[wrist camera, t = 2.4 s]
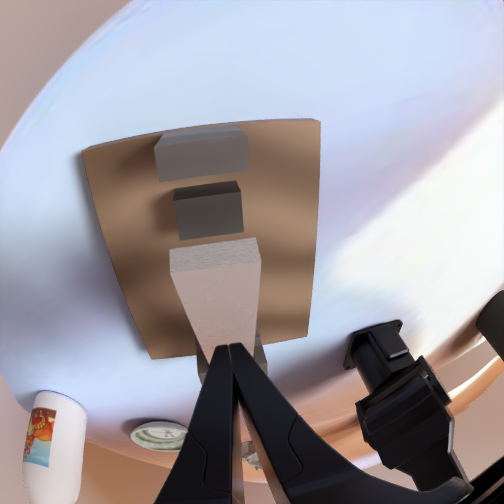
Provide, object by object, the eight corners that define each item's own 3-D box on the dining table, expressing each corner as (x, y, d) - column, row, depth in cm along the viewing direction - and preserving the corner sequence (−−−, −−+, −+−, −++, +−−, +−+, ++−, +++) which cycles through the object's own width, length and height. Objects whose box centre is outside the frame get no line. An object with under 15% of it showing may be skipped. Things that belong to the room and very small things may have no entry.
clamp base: (302, 324, 27) (321, 370, 22) (152, 347, 25) (149, 397, 20) (311, 118, 17) (353, 132, 12) (90, 146, 15) (53, 171, 11)
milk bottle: (81, 395, 28) (70, 546, 11) (92, 422, 32) (89, 547, 15) (29, 383, 26) (5, 522, 9) (45, 411, 29) (32, 531, 13)
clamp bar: (249, 357, 23) (252, 373, 22) (212, 363, 23) (215, 379, 22) (254, 233, 10) (262, 265, 10) (169, 244, 10) (170, 278, 9)
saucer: (119, 413, 31) (118, 429, 29) (188, 409, 32) (190, 425, 30) (145, 440, 36) (145, 453, 34) (205, 436, 37) (206, 449, 35)
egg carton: (250, 452, 44) (253, 471, 41) (232, 442, 40) (236, 463, 37) (305, 435, 44) (311, 454, 40) (294, 423, 40) (300, 445, 36)
